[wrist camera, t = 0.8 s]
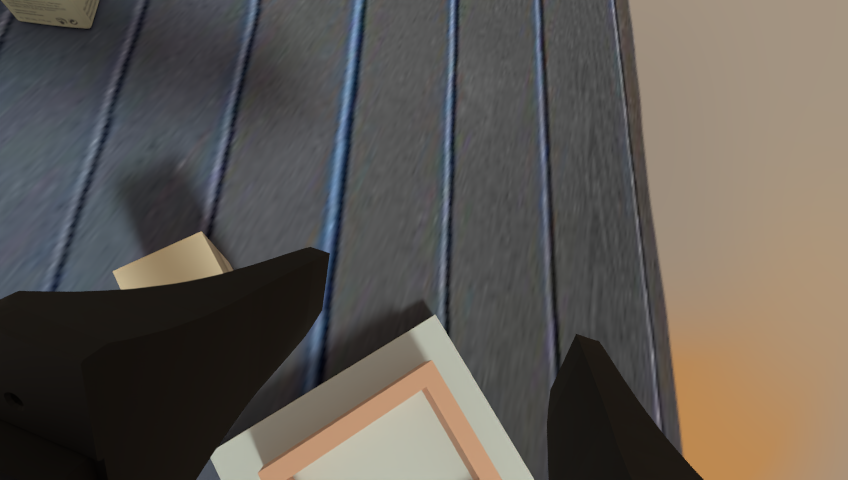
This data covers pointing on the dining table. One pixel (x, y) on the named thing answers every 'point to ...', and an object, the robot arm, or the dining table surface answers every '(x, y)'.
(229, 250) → the dining table surface
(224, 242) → the dining table surface
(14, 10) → the skincare box
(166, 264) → the maple peg
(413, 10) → the dining table surface
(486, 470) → the collar board
